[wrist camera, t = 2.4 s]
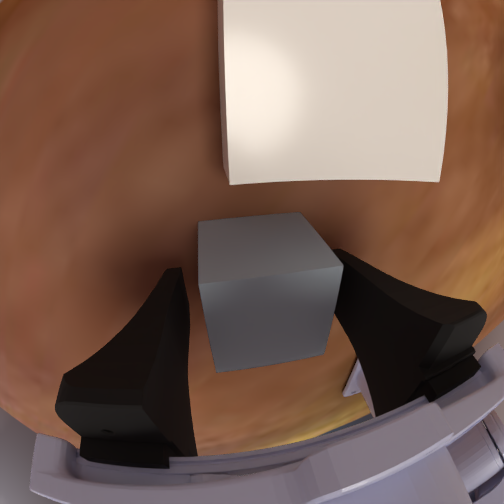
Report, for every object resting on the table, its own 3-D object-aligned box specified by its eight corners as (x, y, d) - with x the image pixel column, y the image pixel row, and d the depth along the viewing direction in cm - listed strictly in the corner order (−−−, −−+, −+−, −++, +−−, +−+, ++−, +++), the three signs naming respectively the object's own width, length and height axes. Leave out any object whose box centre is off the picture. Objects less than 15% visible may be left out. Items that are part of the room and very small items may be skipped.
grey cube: (299, 211, 12) (343, 265, 8) (294, 290, 14) (323, 354, 11) (198, 220, 12) (198, 284, 8) (209, 301, 14) (216, 372, 10)
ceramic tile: (400, 7, 7) (439, -2, 5) (400, 163, 12) (439, 182, 10) (216, -28, 6) (223, -61, 4) (222, 164, 11) (229, 185, 8)
